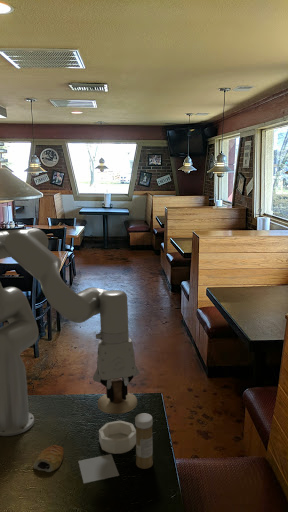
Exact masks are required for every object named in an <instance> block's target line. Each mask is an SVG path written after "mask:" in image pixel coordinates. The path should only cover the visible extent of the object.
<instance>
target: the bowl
mask: <svg viewBox="0 0 288 512" xmlns="http://www.w3.org/2000/svg"><path fill="white" fill-rule="evenodd" d="M98 438H99V439H98V441H99V444H100V447H101V451H104V452H106V453H108V454H113V455H114V454H115V455H116V454H124V453H127V452H130V451H131V450H132V449H134V448H135V447H136V426H135V425H134V424H133V423H131V422H127V421H124V420H115V421H110V422H109V421H108V422H106V423H105V424H104V425H103V426H102V427H101V428H99V430H98Z"/></svg>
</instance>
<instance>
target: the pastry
mask: <svg viewBox="0 0 288 512" xmlns="http://www.w3.org/2000/svg"><path fill="white" fill-rule="evenodd" d="M64 455H65V453H64V447H62V446H60V445H58V444H53V445H50V446H48V447H46V448H44V449H43V450H41V451H40V453H39V454H37V456H36V457H35V459H34V464H32V466H33V469H34V470H37V471H43V472H44V471H45V472H47V473H52V472H54V471H55V470H57V469H58V468H60V467H61V464H62V462H63V459H64Z"/></svg>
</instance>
